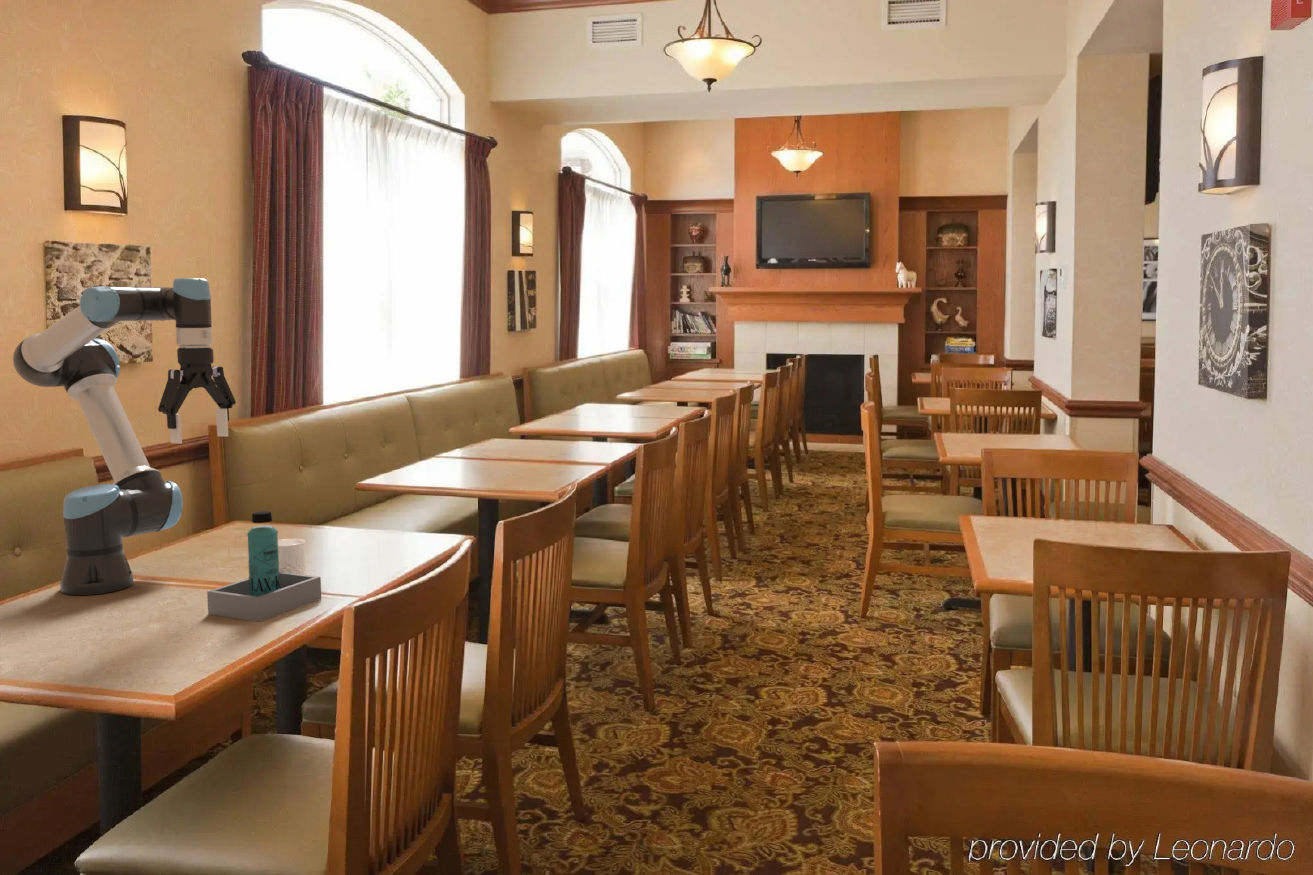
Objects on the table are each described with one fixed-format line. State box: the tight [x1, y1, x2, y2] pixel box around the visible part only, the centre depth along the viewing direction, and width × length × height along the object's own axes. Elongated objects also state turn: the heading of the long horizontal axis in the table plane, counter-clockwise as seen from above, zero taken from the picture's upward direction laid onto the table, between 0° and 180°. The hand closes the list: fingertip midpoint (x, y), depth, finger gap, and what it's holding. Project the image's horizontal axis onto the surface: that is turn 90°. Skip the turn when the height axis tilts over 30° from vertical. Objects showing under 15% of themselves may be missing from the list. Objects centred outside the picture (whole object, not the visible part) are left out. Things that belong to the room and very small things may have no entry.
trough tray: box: [206, 572, 322, 622], centre depth 232 cm, size 14×19×5 cm
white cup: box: [278, 538, 306, 575], centre depth 251 cm, size 8×8×10 cm
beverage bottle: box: [246, 510, 281, 597], centre depth 231 cm, size 6×7×20 cm
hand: (200, 439), depth 244 cm, fingers open, 13 cm apart
